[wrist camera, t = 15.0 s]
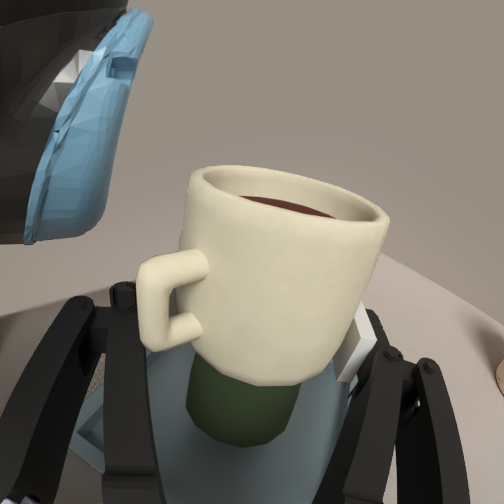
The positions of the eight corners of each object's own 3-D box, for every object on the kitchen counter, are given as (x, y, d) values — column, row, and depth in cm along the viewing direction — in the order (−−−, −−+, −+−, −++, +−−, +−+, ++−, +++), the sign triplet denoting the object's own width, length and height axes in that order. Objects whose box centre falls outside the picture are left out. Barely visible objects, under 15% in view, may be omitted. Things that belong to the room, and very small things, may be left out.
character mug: (262, 342, 21) (305, 168, 15) (334, 399, 16) (423, 214, 11) (129, 401, 14) (102, 167, 8) (199, 498, 9) (231, 267, 4)
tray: (64, 444, 11) (54, 431, 10) (185, 316, 25) (186, 300, 24) (316, 558, 7) (330, 557, 6) (355, 377, 21) (363, 363, 20)
